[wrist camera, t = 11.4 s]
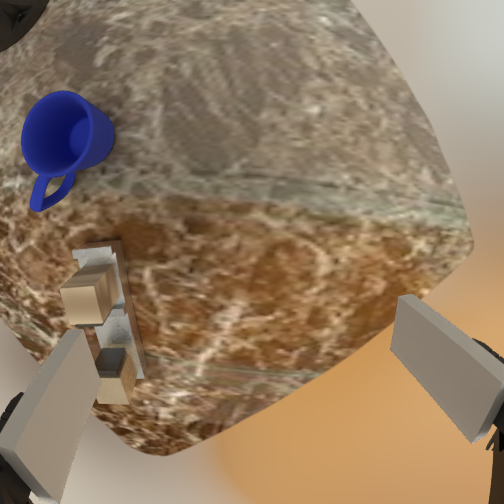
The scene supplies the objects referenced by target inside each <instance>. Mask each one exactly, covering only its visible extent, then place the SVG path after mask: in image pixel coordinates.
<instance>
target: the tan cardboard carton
mask: <svg viewBox="0 0 504 504" xmlns="http://www.w3.org/2000/svg"><path fill="white" fill-rule="evenodd" d="M60 292H61V296H62V300H63V304H64V307H65V311H66V314H67V317H68V321H69V324H75V326H76V327H98V326H103V324H104V323H105V321H106V319H107V318H108V316H109V314H110V312H111V311H112V309H113V307H114V306H115V305H114V304H115V302H116V301H117V299H118V298H119V296H120V294H119V290H118V285H117V280H116V275H115V270H114V265H113V264H102V265H91V266H83V267H82V268H81V269H80V270H79V271H78V272H76V273H75V274H74V275H73V276H72V277H71V278H70V279H69V280H68V281H67V282H66V283H65V284H64V285H63V286H62V287H61V288H60Z"/></svg>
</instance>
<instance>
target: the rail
mask: <svg viewBox="0 0 504 504" xmlns="http://www.w3.org/2000/svg"><path fill="white" fill-rule="evenodd" d="M72 253H73V258H74V259H78V261H79V266H80V269H81V268H82V267H83V266H91V265H102V264H113V265H114V270H115V275H116V280H117V285H118V290H119V294H120V296H119V298H118V299H117V301H116V302H115V304H114V305H115V306H114V307H113V309H112V311H111V312H110V314H109V316H108V318H107V319H106V321H105V323H104V324H103V326H98V327H95V330H96V334H97V337H98V340H99V344H100V347H101V351H100V353H99V355H98V357H97V359H96V361H95V366H96V369H97V372H98V374H99V377H100V380H101V382H102V383H101V386H100V388H99V391H98V393H97V396H96V398H97V400H98V403H99V404H130V400H131V396H132V392H133V389H134V385H135V381H136V379H139V378H145V375H146V371H147V367H148V364H147V361H146V357H145V353H144V349H143V346H142V342H141V338H140V333H139V329H138V325H137V321H136V316H135V312H134V307H133V303H132V298H131V293H130V288H129V283H128V278H127V272H126V267H125V261H124V255H123V249H122V243H121V239H120V240H110V241H101V242H92V243H85V244H83V245H82V246H81V247H78V248H75V249H73V250H72Z"/></svg>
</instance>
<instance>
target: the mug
mask: <svg viewBox="0 0 504 504" xmlns="http://www.w3.org/2000/svg"><path fill="white" fill-rule="evenodd" d="M113 142H114V128H113V125H112V122H111V121H110V119H109V118H108V116H107V115H105V114H104V113H103V112H102V111H100V110H99V109H98V108H96V107H95V106H93V105H92V104H91V103H89V102H88V101H87V100H85V99H84V98H82V97H81V96H80V95H78V94H76V93H74V92H70V91H57V92H54V93H51V94H49V95H47V96H45V97H44V98H42V99H41V100H40V101H38V102H37V103H36V104H35V105H34V107H33V108H32V109H31V111H30V112H29V114H28V116H27V118H26V120H25V123H24V125H23V129H22V135H21V146H22V152H23V155H24V158H25V160H26V162H27V164H28V165H29V166H30V168H31V169H32V170H33V171H35V172H36V173H38V174H39V176H38V178H37V180H36V183H35V185H34V188H33V192H32V195H31V200H30V208H31V209H32V210H33V211H36V212H41V211H43V210H45V209H47V208H49V207H51V206H53V205H54V204H56V203H57V202H59V201H60V200H62V199H63V198H64V197H65V196H66V195H67V194H68V192H69V191H70V189H71V187H72V185H73V182H74V179H75V172H76V171H79V170H82V169H86V168H89V167H92V166H95V165H97V164H98V163H100V162H101V161H102V160H104V159H105V158H106V156H107V155H108V154H109V152H110V150H111V148H112V146H113ZM64 175H66V176H65V179H64V181H63V183H62V185H61V186H60V188H59V189H58V190H57V191H56V192H55V193H53V194H52V195H50V196H48V197H46V198H44V195H45V192H46V188H47V185H48V183H49V181H50V180H51V179H52V178H54V177H60V176H64Z"/></svg>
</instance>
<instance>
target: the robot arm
mask: <svg viewBox="0 0 504 504" xmlns="http://www.w3.org/2000/svg"><path fill="white" fill-rule="evenodd" d="M47 2H48V0H0V52H1V51H3V50H5V49H7V48H8V47H10V46H11V45H13V44H14V43H16V42H17V41H18V40H19V39H20V38H21V37H23V36H24V35H25V34H26V33H27V32H28V31H29V29H30V28H31V27H32V26H33V25H34V24H35V22H36V21H37V20H38V18H39V17H40V15H41V14H42V12H43V10H44V8H45V7H46V5H47ZM390 350H391V351H392V352H393V353H394V354H395V356H396V357H397V358H398V359H399V360H400V361H401V362H402V364H403V365H404V366H405V367H406V368H407V369H408V370H409V371H410V373H411V374H412V375H413V376H414V377H415V378H416V379H417V380H418V382H419V383H420V384H421V385H422V386H423V387H424V389H425V390H426V391H427V392H428V393H429V394H430V396H431V397H432V398H433V399H434V400H435V401H436V403H437V404H438V405H439V406H440V407H441V408H442V410H443V411H444V412H445V413H446V414H447V415H448V417H449V418H450V419H451V420H452V421H453V423H454V424H455V425H456V426H457V427H458V429H459V430H460V431H461V432H462V433H463V434H464V436H465V437H466V438H467V439H468V441H469V442H470V443H471V444H473V443H474V442H476V441H478V440H480V439H481V438H483V437H485V436H486V435H487V433H488V431H489V430H490V428H491V426H492V424H494V425H495V426H496V427H497V429H496V431H495V433H494V434H493V436H492V438H491V440H490V441H489V443H488V445H487V447H486V450H489V448H490V446H491V445H492V443H494V447H493V449H492V451H493V467H492V479H491V488H490V496H489V504H504V358H502V357H501V356H500V357H499V355H498V354H497V353H496V352H495V351H492V349H491V348H490V347H488V346H487V345H486V344H485V343H482V342H481V341H478V340H476V339H473V338H470V337H469V336H468V335H467V334H465V333H464V332H463V331H461V330H460V329H459V328H457V327H456V326H455V325H454V324H452V323H451V322H450V321H448V320H447V319H446V318H444V317H443V316H442V315H440V314H439V313H438V312H436V311H435V310H434V309H432V308H431V307H429V306H428V305H427V304H426V303H424V302H423V301H421V300H420V299H419V298H417V297H416V296H415V295H413V294H408V295H403V296H398V302H397V310H396V317H395V323H394V330H393V336H392V342H391V347H390ZM101 383H102V382H101V380H100V377H99V374H98V372H97V369H96V366H95V363H94V360H93V357H92V355H91V352H90V349H89V346H88V342H87V339H86V336H85V333H84V330H83V329H68V330H67V331H66V333H65V334H64V335H63V337H62V338H61V339H60V341H59V342H58V344H57V345H56V347H55V348H54V349H53V351H52V352H51V354H50V355H49V357H48V358H47V360H46V361H45V362H44V364H43V365H42V367H41V368H40V370H39V372H38V373H37V374H36V376H35V377H34V379H33V381H32V382H31V384H30V385H29V387H28V388H27V390H26V392H25V393H23V392H20V393H19V394H18V395H17V396H16V397H14V398H13V399H12V400H11V401H10V403H9V404H8V406H7V407H6V409H5V412H3V414H2V415H1V417H0V504H33V503H32V501H31V500H30V499H29V495H30V492H31V491H32V492H33V493H34V494H35V495H36V496H37V497H38V498H39V499H40V500H42V501H45V502H49V503H53V504H60V501H61V498H62V495H63V491H64V488H65V485H66V481H67V478H68V474H69V472H70V469H71V465H72V462H73V459H74V456H75V453H76V450H77V447H78V444H79V442H80V439H81V436H82V433H83V430H84V427H85V425H86V422H87V419H88V417H89V414H90V411H91V409H92V406H93V403H94V401H95V398H96V396H97V393H98V391H99V388H100V386H101Z"/></svg>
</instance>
